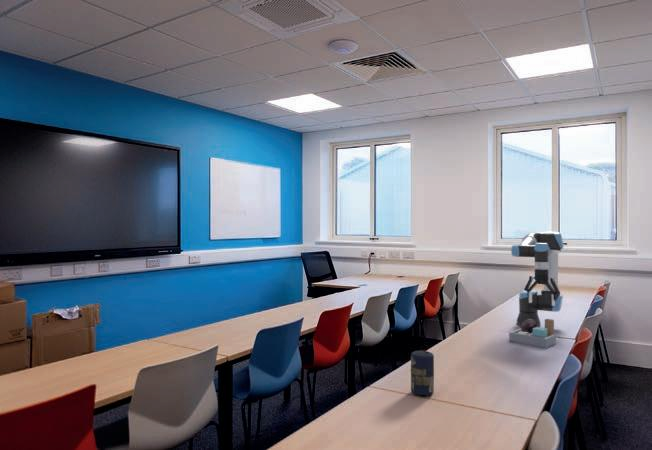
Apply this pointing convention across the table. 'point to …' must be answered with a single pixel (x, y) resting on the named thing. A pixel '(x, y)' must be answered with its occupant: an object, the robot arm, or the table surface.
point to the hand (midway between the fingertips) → (541, 304)
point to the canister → (422, 372)
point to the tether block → (544, 329)
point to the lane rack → (532, 339)
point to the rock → (528, 326)
